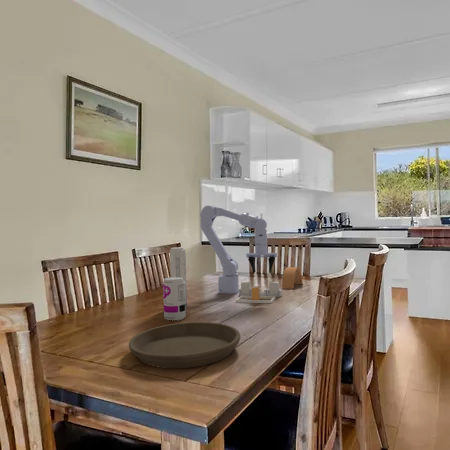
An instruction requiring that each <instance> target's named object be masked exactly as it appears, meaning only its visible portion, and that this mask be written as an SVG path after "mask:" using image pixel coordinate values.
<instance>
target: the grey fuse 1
mask: <svg viewBox="0 0 450 450" xmlns="http://www.w3.org/2000/svg"><path fill="white" fill-rule="evenodd" d="M240 288H241V293H245V294H250V289H252V283H251V281H241V282H240Z"/></svg>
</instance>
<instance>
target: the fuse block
mask: <svg viewBox="0 0 450 450" xmlns="http://www.w3.org/2000/svg"><path fill="white" fill-rule="evenodd" d="M282 289H283V288H279V294H269V288H264V291H261V292H260V296H275V298H280V297H282V295H283V292H282ZM240 296H252V288H251V289H250V294H245V293H241V287H239V292H238V298H239V297H240Z"/></svg>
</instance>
